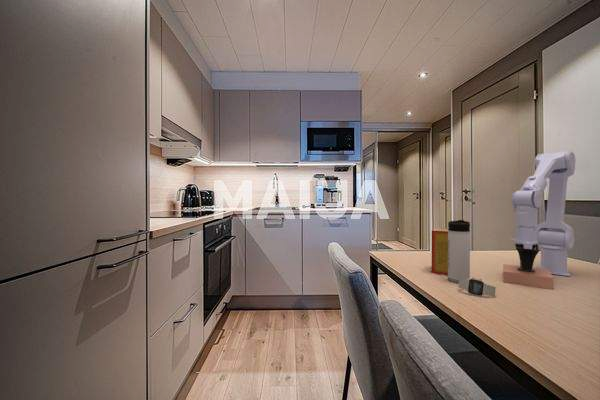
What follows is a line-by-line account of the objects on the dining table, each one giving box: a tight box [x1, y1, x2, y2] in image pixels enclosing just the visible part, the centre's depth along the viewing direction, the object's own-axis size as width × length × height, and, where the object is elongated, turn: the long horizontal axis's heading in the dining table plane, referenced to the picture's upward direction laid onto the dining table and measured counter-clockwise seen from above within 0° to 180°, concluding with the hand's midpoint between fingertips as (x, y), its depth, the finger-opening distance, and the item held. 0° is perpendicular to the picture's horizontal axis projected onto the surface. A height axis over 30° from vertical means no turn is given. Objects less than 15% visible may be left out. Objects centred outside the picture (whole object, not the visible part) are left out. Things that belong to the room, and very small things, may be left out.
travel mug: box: [447, 219, 471, 284], centre depth 91 cm, size 6×7×20 cm
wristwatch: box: [457, 277, 497, 298], centre depth 79 cm, size 9×6×5 cm
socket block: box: [502, 263, 554, 290], centre depth 91 cm, size 12×12×4 cm
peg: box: [519, 258, 532, 272], centre depth 91 cm, size 3×3×7 cm
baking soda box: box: [431, 227, 448, 276], centre depth 102 cm, size 10×6×16 cm
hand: (526, 267), depth 91 cm, fingers open, 7 cm apart
